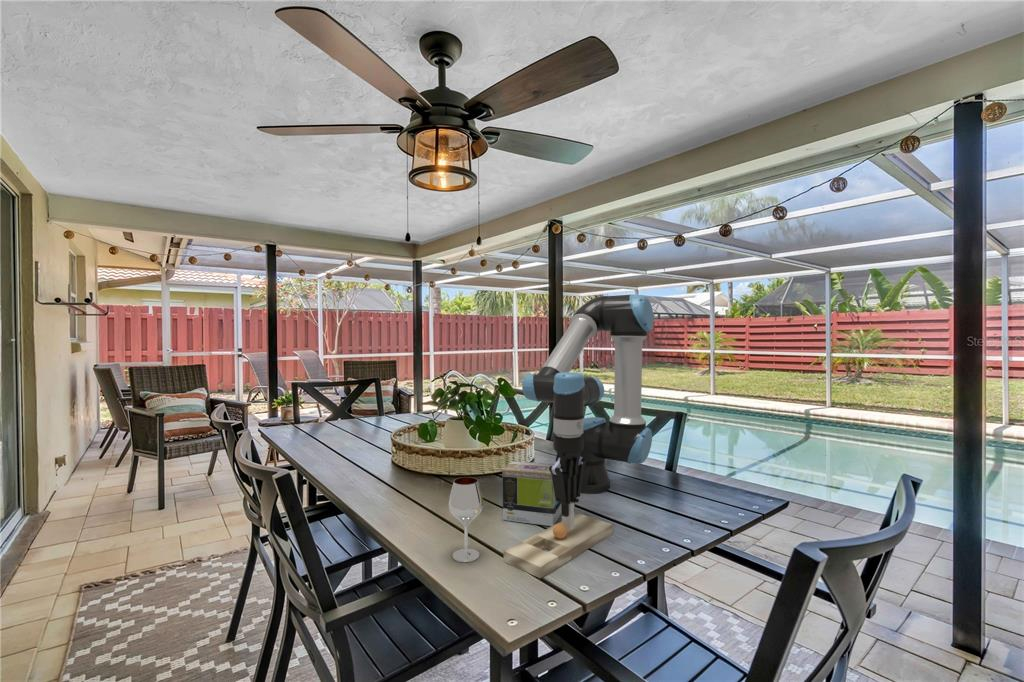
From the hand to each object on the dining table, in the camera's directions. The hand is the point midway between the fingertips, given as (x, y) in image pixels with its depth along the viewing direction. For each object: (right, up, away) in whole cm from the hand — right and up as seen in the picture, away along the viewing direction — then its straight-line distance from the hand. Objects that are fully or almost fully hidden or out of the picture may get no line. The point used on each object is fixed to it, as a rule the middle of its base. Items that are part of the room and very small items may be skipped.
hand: (568, 527), depth 119 cm
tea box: (-8, -4, +16) cm, 19 cm away
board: (-2, -4, -2) cm, 5 cm away
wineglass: (-25, -4, -6) cm, 26 cm away
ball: (-2, 0, -3) cm, 4 cm away
